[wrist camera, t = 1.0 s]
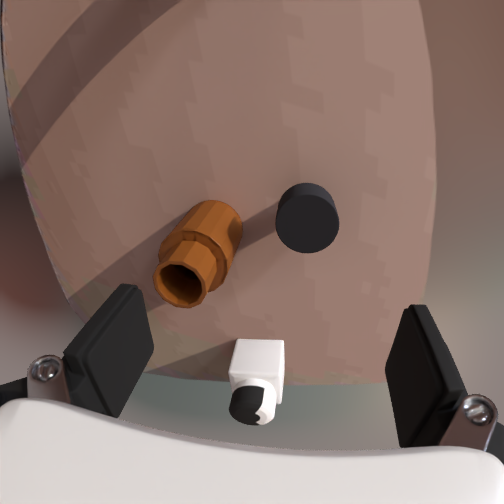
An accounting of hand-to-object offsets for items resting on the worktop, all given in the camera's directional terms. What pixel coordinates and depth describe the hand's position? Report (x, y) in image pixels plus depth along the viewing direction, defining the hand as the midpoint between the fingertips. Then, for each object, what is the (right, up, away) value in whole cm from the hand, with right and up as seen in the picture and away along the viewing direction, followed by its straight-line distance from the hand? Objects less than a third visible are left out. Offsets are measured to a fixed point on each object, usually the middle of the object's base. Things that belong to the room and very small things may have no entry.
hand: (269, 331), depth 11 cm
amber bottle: (-5, +6, +29) cm, 30 cm away
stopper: (+6, +9, +25) cm, 27 cm away
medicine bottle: (+1, -13, +38) cm, 40 cm away
